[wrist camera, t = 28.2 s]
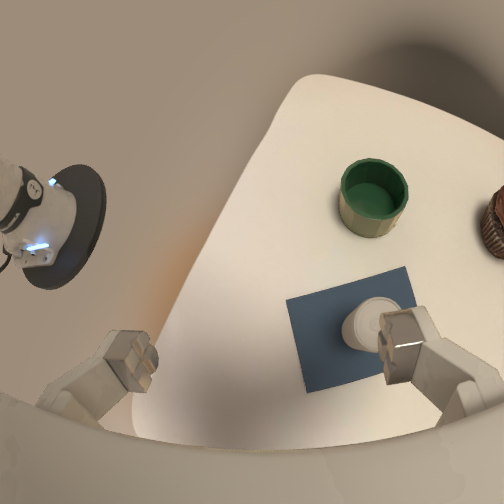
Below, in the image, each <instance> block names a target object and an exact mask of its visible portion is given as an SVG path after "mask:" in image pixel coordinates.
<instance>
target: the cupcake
mask: <svg viewBox="0 0 504 504" xmlns="http://www.w3.org/2000/svg"><path fill="white" fill-rule="evenodd" d="M481 234H482V237H483V240H484V242H485V245H486V246H487V248H488V249H489V251H490V252H492V253H493V254H494V255H495V256H496V257H499V258H502V259H504V186H502V187H501V189H500V190H498V191H497V192H496V193H494V195H493V197H492V199H491V201H490V203H489V206H488V207H487V209H486V211H485V213H484V215H483V218H482V220H481Z"/></svg>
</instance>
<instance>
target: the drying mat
mask: <svg viewBox="0 0 504 504" xmlns="http://www.w3.org/2000/svg"><path fill="white" fill-rule="evenodd" d="M373 297H385V298H389V299H391V300H393V301H394V302H396V303H397V304H398V305H399V306H400V308H401V310H403V309H409V308H413V307H417V304H416V301H415V297H414V294H413V290H412V287H411V284H410V280H409V277H408V274H407V271H406V268H405V266H404V267H401V268H398V269H394V270H391V271H388V272H385V273H382V274H378V275H375V276H372V277H368V278H365V279H362V280H358V281H355V282H351V283H348V284H344V285H341V286H337V287H334V288H330V289H326V290H323V291H319V292H315V293H312V294H308V295H304V296H300V297H296V298H293V299H289V300H286V302H287V307H288V311H289V315H290V319H291V324H292V328H293V333H294V337H295V341H296V346H297V350H298V355H299V359H300V364H301V368H302V373H303V377H304V382H305V387H306V391H307V393H310V392H314V391H319V390H323V389H327V388H331V387H335V386H339V385H342V384H346V383H350V382H353V381H357V380H360V379H363V378H367V377H370V376H373V375H376V374H379V373H383V366H384V362H383V361H381V360H380V357H379V353H372V352H367V351H362V350H357V349H353V348H351V347H349V346H348V345H347V344H346V343H345V341H344V339H343V337H342V325H343V322H344V320H345V319H346V317H347V316H348V315H349V314H350V313H351V312H353V311H354V310H355V309H356V308H357V307H358V306H359V305H360V304H361V303H362V302H364V301H366V300H367V299H370V298H373Z"/></svg>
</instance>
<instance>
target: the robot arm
mask: <svg viewBox="0 0 504 504" xmlns="http://www.w3.org/2000/svg"><path fill="white" fill-rule="evenodd" d="M55 182H56V180H54V179H51V180H50V181H47V180H45V179H43V178H41V177H39V176H37V175H34V174H32V173H31V172H29V170H28V169H26V168H23V167H22V166H19V167H18V166H17V165H15V164H14V163H12V162H11V161H9V160H8V159H7V158H5V157H4V156H2V155H1V154H0V231H1V232H2V237H3V253H4V254H5V255H8V258H7V261H6V262H5V263H4V264H3V265H2V267H1V268H0V273H1V272H2V271H3V270H4V269H5V267H6V266H7V265H8V263H9V262H10V259H11V256H12V255H13V258H14V260H15V265H16V267H17V268H30V267H41V266H51V265H53V263H54V262H55V260H56V257H57V255H58V252H59V250H60V248H61V247H62V246H63V244H64V243H65V241H66V240H67V238H68V236H69V234H70V232H71V230H72V227H73V224H74V221H75V217H76V209H77V206H76V199H75V197H74V195H73V194H72V193H71V192H69V191H66V190H64V188H63V186H62V185H60V184H56V185H55V184H53V183H55ZM379 324H380V327H381V330H380V331H379V332H378V352H379V357H380V360H381V361H383V362H384V366H383V373H384V377H385V380H386V384H387V385H392V384H398V383H404V382H409V381H411V383H412V384H413V385H414V386H415V387H416V388H417V389H418V390H419V391H420V392H422V393H423V394H424V395H425V396H426V397H427V398H428V399H429V400H430V401H431V402H432V403H433V404H434V405H435V406H436V407H437V408H438V409H439V410H440V411H441V412H443V414H442V415H441V417H440V419H439V421H438V422H437V424H436V426H435V427H433V428H430V429H426V430H422V431H418V432H414V433H410V434H406V435H402V436H397V437H392V438H387V439H382V440H376V441H371V442H364V443H358V444H351V445H343V446H334V447H324V448H311V449H293V450H240V449H221V448H209V447H198V446H189V445H181V444H174V443H167V442H161V441H155V440H149V439H144V438H139V437H134V436H130V435H125V434H121V433H116V432H112V431H108V430H105V429H104V428H103V427H102V426H101V425H100V424H99V423H98V420H99V419H100V418H102V417H103V416H104V415H105V414H106V413H107V412H108V411H109V410H110V409H111V408H112V407H113V406H114V405H115V404H116V403H118V402H119V401H120V400H121V399H122V398H123V397H124V396H125V395H126V394H127V393H128V391H129V392H139V393H147V390H148V388H149V386H150V383H151V381H152V378H151V374H153V373H154V372H155V371H156V369H157V367H158V361H159V357H158V353H157V350H156V349H155V347H154V346H152V345H151V344H150V343H149V341H150V337H149V336H148V334H147V332H144V331H129V330H112V331H110V332H109V333H108V334H107V336H106V337H105V339H104V340H103V342H102V343H101V345H100V346H99V348H98V349H97V351H96V353H95V354H94V356H93V357H92V358H88V359H86V360H85V361H84V362H82V363H80V364H79V365H77V366H76V367H74V368H73V369H71V370H70V371H68V372H67V373H66V374H64V375H63V376H61V377H59V378H58V379H56V380H55V381H53V382H52V383H50V384H49V385H48V386H47V387H46V389H45V390H44V392H43V394H42V395H41V397H40V398H39V400H38V402H37V403H36V405H35V406H32V405H30V404H28V403H25V402H23V401H21V400H19V399H16V398H14V397H12V396H10V395H8V394H5V393H4V392H2V391H0V504H504V382H503V380H502V378H501V376H500V374H499V372H498V370H497V369H496V368H494V367H493V366H491V365H489V364H488V363H486V362H485V361H483V360H481V359H480V358H478V357H476V356H475V355H473V354H472V353H470V352H468V351H467V350H465V349H463V348H462V347H460V346H458V345H457V344H455V343H453V342H452V341H450V340H449V339H447V338H441V336H440V334H439V332H438V330H437V328H436V327H435V325H434V323H433V321H432V319H431V317H430V315H429V313H428V311H427V309H426V308H425V307H424V306H418V307H413V308H409V309H403V310H397V311H392V312H385V313H381V314H380V319H379Z"/></svg>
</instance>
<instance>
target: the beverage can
mask: <svg viewBox="0 0 504 504" xmlns="http://www.w3.org/2000/svg"><path fill="white" fill-rule="evenodd" d="M397 310H401V308H400V306H399V305H398V304H397V303H396V302H394V301H393V300H391V299H389V298H385V297H373V298H370V299H367V300H366V301H364V302H362V303H361V304H360V305H359V306H358V307H357V308H356V309H355V310H354V311H353V312H351V313H350V314H349V315H348V316H347V317H346V319H345V320H344V322H343V325H342V337H343V339H344V341H345V343H346V344H347V345H348V346H349V347H351V348H353V349H357V350H362V351H367V352H372V353H379V352H378V332H379V331H380V330H381V327H380V324H379V319H380V314H381V313H385V312H392V311H397Z"/></svg>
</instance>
